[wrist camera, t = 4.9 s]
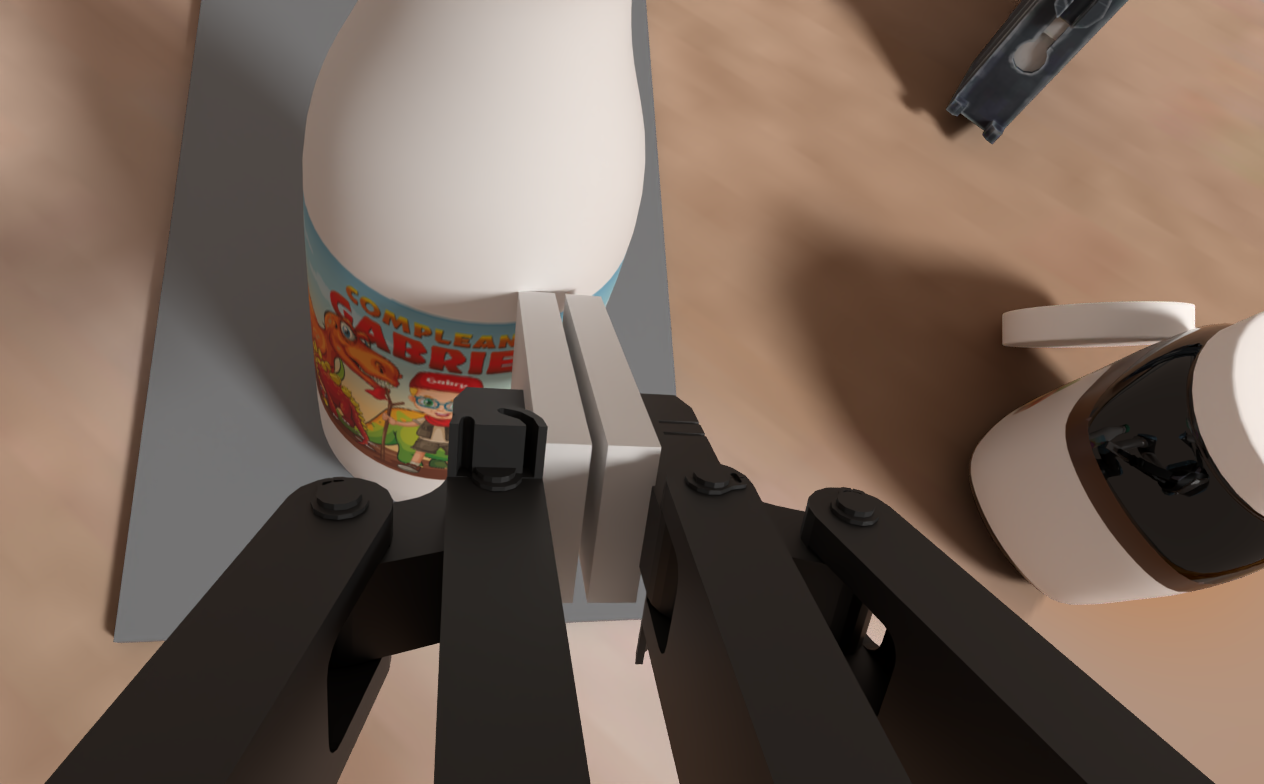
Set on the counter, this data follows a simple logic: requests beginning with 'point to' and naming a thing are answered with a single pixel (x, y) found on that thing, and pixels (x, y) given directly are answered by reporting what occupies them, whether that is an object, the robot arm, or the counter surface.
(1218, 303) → the counter surface
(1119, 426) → the spread jar
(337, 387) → the milk bottle
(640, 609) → the rubber mat
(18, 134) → the counter surface
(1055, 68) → the gun
